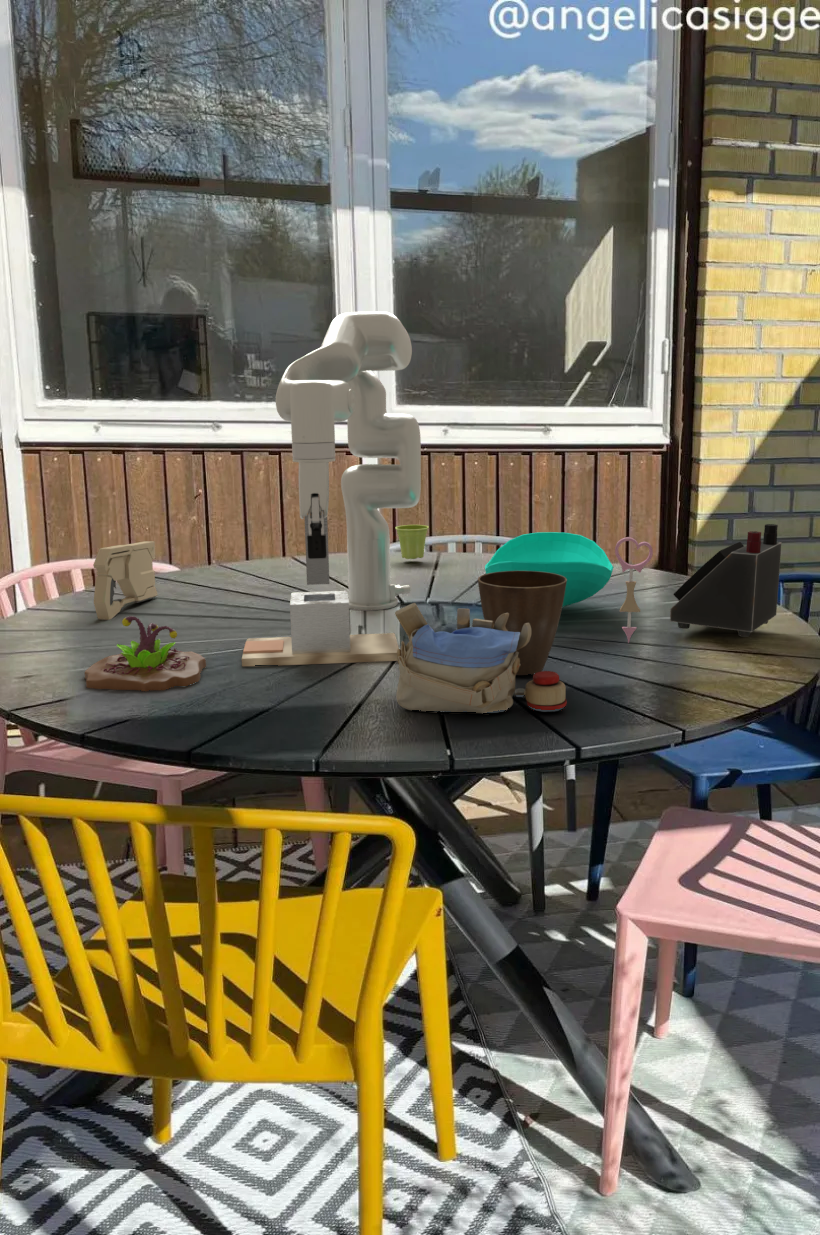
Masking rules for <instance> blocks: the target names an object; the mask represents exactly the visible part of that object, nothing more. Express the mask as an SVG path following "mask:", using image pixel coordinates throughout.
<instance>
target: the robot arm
mask: <svg viewBox="0 0 820 1235" xmlns="http://www.w3.org/2000/svg"><path fill="white" fill-rule="evenodd" d="M412 354H413V348H412V341H411V337H410V335H409V333H408V331H407V330H406V327H405V326H404V325H403V323H402V321H401V320H400V319H399V318H398V317H397V316H396V315H395V314H393V313H391V312H389V311H351V312H343V313H341V314H338V315H337V316H335V317H334V318H333V320H332V321H331V323H330V324H329V326H328V329H327V331H326V333H325V336H324V339H323V340H322V343H321V345H320V347H319V348H317V349H315V350H312V351H311V352H309V353H307V354H306V355H304V356H302V357H300V358H298V359H296V360H295V361H293V362H292V363H291V364H289V365H288V366H287V367H286V369H285V371H284V373H282V377H281V379H280V381H279V383H278V386H277V390H276V392H275V393H276V395H275V408H276V411H277V413H278V415H279V417H280V418H281V419H282V420H284V421H286V422H288V423H290V424H291V425H290V426H291V427H290V428H291V431H290V432H291V448H292V450H291V452H292V462H293V463H298V500H299V502H298V503H299V504H298V506H299V518H300V519H301V520H305V517H304V516H307V514H308V529H309V536H307V539H308V558H310V559H318V558H326V535H324V519H325V518H326V517H327V518H328V515H329V514H328V512H329V503H330V463H329V462H335V461H336V443H335V442H336V434H335V432H336V431H335V423H342V422H345V421H347V444H348V445H347V446H348V449H349V452H350V454H352V455H353V456H354V457H357V458H364V459H396V460H398V462H399V464H383V463H382V464H381V463H379V464H377V463H376V464H375V463H371V464H369V463H367V464H366V463H365V464H364V463H362V464H355V465H352V466H349V467H348V468H346V469H345V470H344V472H343V473H342V475H341V480H340V487H341V494H342V498H343V505H344V510H345V511H344V512H345V520H346V521H345V522H346V545H347V546H346V547H347V548H346V549H347V550H346V551H347V552H346V553H347V580H348V600H349V610H356V611H364V612H365V611H367V612H368V611H369V612H370V611H380V610H381V611H382V610H388V609H392V608H394V607H396V606H397V605H398V603H399V601H398V598H397V597H398V596H399V595H407V594H411V586H410V585H409V584H406V585H400V584H397V585H396V584H393V583H391V581H392V580H391V549H390V547H391V542H390V541H391V540H390V537H391V536H390V527H389V523H388V522H387V520H386V519H385V517H384V516H383V515H382V513H381V512H380V511H379V509H409V508H410V509H411V508H414V507H416V506H417V505H418V503H419V502H420V498H421V493H422V492H421V491H422V490H421V488H422V472H421V471H422V470H421V469H422V467H421V466H422V465H421V464H422V459H421V458H422V454H421V452H422V450H421V446H422V445H421V444H422V443H421V442H422V438H421V430H420V425H419V422H418V420H417V419H416V417H414V416H413V415H411V414H407V413H388V412H387V391H386V388H385V386H384V384H383V383H382V381H381V380H380V379H379V377H378V376H377V375H376V374H375V373H374V372H375V371H376V372H378V371H379V372H382V371H383V372H385V371H387V372H388V371H392V372H393V371H402V370H405V369H406V368H407V367H408V366H409V364H410V363H411V360H412ZM323 510H324V513H323ZM319 514H322V518H319ZM310 515H312V518H310ZM311 528H312V530H311Z"/></svg>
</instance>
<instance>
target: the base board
mask: <svg viewBox="0 0 820 1235" xmlns="http://www.w3.org/2000/svg"><path fill="white" fill-rule="evenodd" d="M266 640H284V645H283V652H267V653H243V652H242V657H241V667H256V666H255V665H278V666H296V665H297V666H298V665H300V666H301V665H303V666H304V665H320V664H325V665H326V664H347V663H348V664H350V663H373V662H375V663H377V662H398V659H397V650H398V649H400V648H399V644H398V640H397V637H396V634H395V632H389V633H387V632H385V633H383V632H382V633H362V634H361V633H359V634H358V633H357V634H350V652H331V653H306V654H292V640H291V636H284V637H283V636H277V637H258V638H257V637H254V638H247V639H246V641H266Z"/></svg>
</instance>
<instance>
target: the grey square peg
mask: <svg viewBox="0 0 820 1235" xmlns="http://www.w3.org/2000/svg"><path fill="white" fill-rule="evenodd" d="M323 513H324V510H323ZM310 518H312V515H310ZM319 518H322V514H319ZM328 524H329V523H328V516H327V517H326V518H325V519H324V535H326V558H318V559H310V558H308V539H307V536H309V529H308V514H307V516H304V538H305V539H304V542H305V569H306V585H307V586H309V585H310V586H311V585H330V561H329V560H330V559H329V557H330V556H329V531H328ZM311 530H312V528H311Z"/></svg>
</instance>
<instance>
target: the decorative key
mask: <svg viewBox="0 0 820 1235" xmlns="http://www.w3.org/2000/svg"><path fill="white" fill-rule="evenodd" d="M629 541H630V542H633V543H634V544H635V546H636V551H638V550H639V549H640V548H641V547H642V546H646V547H647V548H648V550H649V552H648V555H647V558H646V559H645V560H643V561H642V562H639V563H636V564H630V563H628V562H626V561H625V560H624V559H623V558H622V556H621V554H620V552H619V547H620V546H621V545H622V544H623V543H625V542H629ZM653 553H654V550H653V546H652V545H651V544H650V543H649V542H648V541H642V542H638V541H637V540H636V539H635V538H633V537H631V536H627V537H623V538H621V539H619V540H618V541H617V542H616V545H615V547H614V554H615V557H616V559H617V560H618V563H619V564H620V566H621V570H622V571H621V573H625V572H626V571H627V570H629V574H628V575H629V578H628V579H629V580H625V585H626V595H625V596H626V597H625V600H624V602H623V603H622V605H621V606H620V608H619V612H620V613H622V612H624V613H625V612H626V613H627V624H626V625H627V626H621V628H622V630H623V632H624V633H625V635H626V639H627V644H630V640H631V637H632V635H633V634H634V632H635V631H636V630H637V626H631V624H632V613H640V612H641V609H640V607H639V606H638V604H637V602H636V599H635V588H636V584H637V580H636V581H634V579H633V578H634V575H633V574H634V570H636V571H637V572H638V573H639V574H640V573H641V572H642V570H643V568H644V567H645V566H646V565H647V564H649V562H650V561H651V559H652V558H653Z"/></svg>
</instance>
